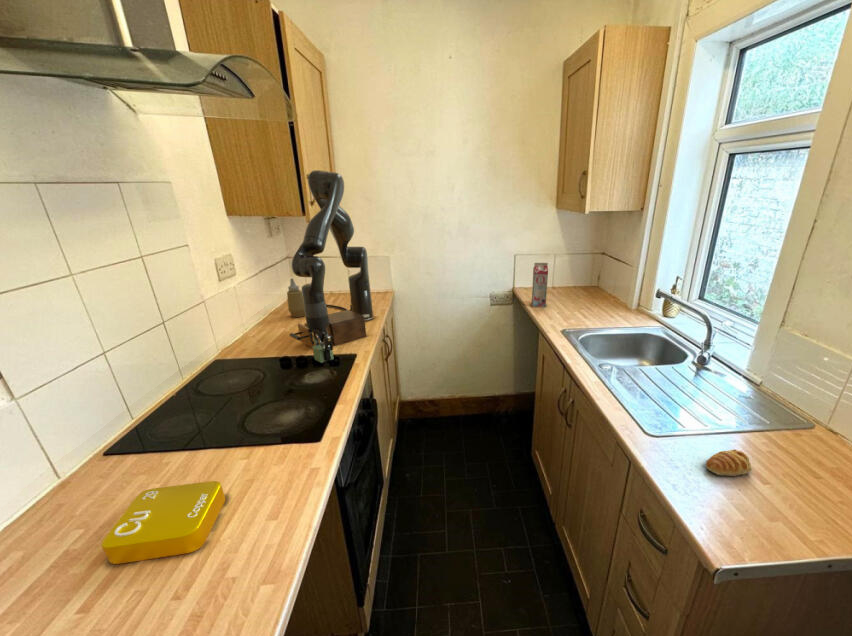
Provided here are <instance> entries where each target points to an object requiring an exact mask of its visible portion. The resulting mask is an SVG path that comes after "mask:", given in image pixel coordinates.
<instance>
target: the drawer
mask: <svg viewBox="0 0 852 636" xmlns="http://www.w3.org/2000/svg"><path fill="white" fill-rule="evenodd" d="M297 329H298V332H295V333H293V332H291V333H290V334H289V337H291V338H292V339H295V340H297V341H300V342H301V343H302V344H305V345H307V346H308V347H310V348H312V349H313V346H314V344H313V345H312V343H311V340H310V336H309V333H308V329H309V328H308V327H307V323H306V322H305V323H304V324H302V323H298V324H297ZM326 330H327V333H328V335H329V336H330V335H332V329H331V325H329V326H328V327H327V328H326ZM332 339H333V336H332ZM322 343H325V342H322Z"/></svg>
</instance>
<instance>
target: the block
mask: <svg viewBox="0 0 852 636" xmlns="http://www.w3.org/2000/svg"><path fill="white" fill-rule="evenodd" d="M329 346H330V345H329ZM324 347H325V345H324ZM312 352H313V357H314V358H313V359H314V360H315V361H317V362H319V363H321V364H322V363H325V362H327V361H325V360H324V354H323V350H322V347H321V346H320V345H317V346H313V348H312ZM330 356H331V360H330V361H332V360H334V359H335V358H334V353H333V350H330Z"/></svg>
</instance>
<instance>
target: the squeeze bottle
mask: <svg viewBox="0 0 852 636" xmlns="http://www.w3.org/2000/svg"><path fill="white" fill-rule="evenodd" d="M289 282H290V283H289V286H287V289H288V291H287V292H286V295H287V297H286V298H287V307H288V308H287V309H288V311H289V313H290V315H291V317H293V318H301V317H305V312H304V302H303V296H302V289H301V290H300V287H299V285H297V284H296V282H295V280H294V278H290V281H289Z"/></svg>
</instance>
